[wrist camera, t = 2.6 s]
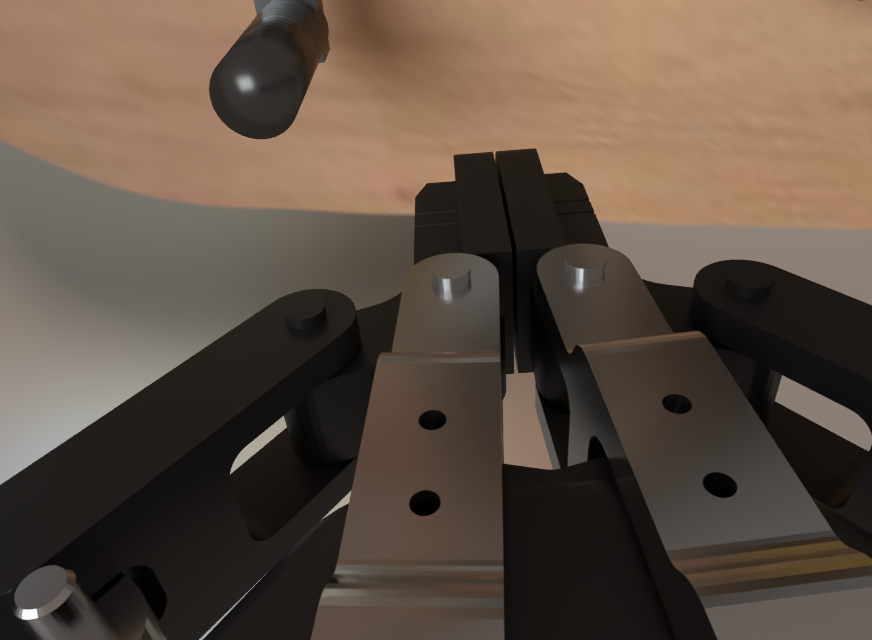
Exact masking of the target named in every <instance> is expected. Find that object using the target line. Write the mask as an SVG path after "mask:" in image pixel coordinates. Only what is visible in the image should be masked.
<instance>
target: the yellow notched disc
mask: <svg viewBox="0 0 872 640" xmlns="http://www.w3.org/2000/svg"><path fill="white" fill-rule="evenodd" d="M254 3H255V8H256V12H257V16H256V17H255V19H254V20H253V21H252V22H251V24H250V25H249V26H248V27H247V29H246V30H245V31H244V32H243V34H242V35H241V36H240V37H239V39H238V40H237V41H236V42H235V44H234V45H233V46H232V47H231V49H230V50H229V51H228V52H227V54H226V55H225V56H224V57H223V59H222V60H221V61H220V63H219V64H218V65H217V66H216V68H215V69H214V71H213V73H212V76H211V79H210V85H209V92H210V99H211V102H212V105H213V108H214V110H215V112H216V113H217V115H218V116H219V118H220V119H221V120H222V121H223V122H224V123H225V124H226V125H227V126H228V127H229V128H230V129H232V130H233V131H235V132H236V133H238V134H240V135H243V136H245V137H249V138H253V139H268V138H272V137H276V136H278V135H280V134H282V133H283V132H285V131H286V130H287V129H288V128H289V127H290V126H291V125H292V123H293V121H294V120H295V117H296V115H297V113H298V110H299V108H300V106H301V103H302V101H303V99H304V96H305V94H306V92H307V89H308V87H309V84H310V82H311V80H312V77H313V75H314V73H315V70H316V68H317V65H318V63H322V62H325V60H326V58H327V55H328V53H329V50H330V46H329V40H328V34H329V30H328V23H327V20H326V17H325V15H324V10H323V4H322V0H254Z"/></svg>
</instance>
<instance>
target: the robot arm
mask: <svg viewBox="0 0 872 640" xmlns="http://www.w3.org/2000/svg"><path fill="white" fill-rule="evenodd" d="M454 168H455V181H452V182H439V183H427V184H426V185H425V186H424V188H423V189H422V190H421V191H420V192H419V194H418V195H417V196H416V197H415V233H414V234H415V235H414V266H413V267H412V268H411V269H410V270H409V271H408V273H407V274H406V276H405V280H404V284H403V290H402V292H401V293H400V294H398V295H397V296H395V297H394V298H392V299H390V300H388V301H385V302H383V303H381V304H377V305H374V306H371V307H367V308H364V309H360V310H356V308H355V305H354V303H353V302H352V301H351V299H350V298H348V297H347V296H346V295H344V294H342V293H339V292H336V291H332V290H327V289H311V290H303V291H299V292H295V293H292V294H289V295H286V296H284V297H281V298H279V299H278V300H276V301H274V302H273V303H271V304H270V305H268V306H267V307H265V308H264V309H262V310H261V311H259V312H258V313H256V314H255V315H253V316H252V317H250V318H249V319H247V320H246V321H244V322H243V323H241V324H240V325H238V326H237V327H235V328H234V329H232V330H231V331H229V332H228V333H226V334H225V335H223V336H222V337H220V338H219V339H217V340H216V341H214V342H213V343H212V344H210V345H209V346H207V347H205V348H204V349H203V350H201V351H200V352H198V353H196V354H195V355H194V356H192V357H191V358H189V359H188V360H186V361H185V362H183V363H182V364H180V365H179V366H177V367H176V368H174V369H173V370H171V371H170V372H168V373H167V374H165V375H164V376H162V377H161V378H159V379H158V380H156V381H155V382H153V383H152V384H150V385H149V386H147V387H146V388H144V389H143V390H141V391H140V392H138V393H137V394H135V395H134V396H132V397H131V398H129V399H128V400H126V401H125V402H124V403H122V404H120V405H119V406H118V407H116V408H114V409H113V410H112V411H110V412H109V413H107V414H106V415H104V416H103V417H101V418H100V419H98V420H97V421H95V422H94V423H92V424H91V425H89V426H88V427H86V428H85V429H83V430H82V431H80V432H79V433H77V434H76V435H74V436H73V437H71V438H70V439H68V440H67V441H65V442H64V443H62V444H61V445H59V446H58V447H57V448H55V449H53V450H52V451H50V452H49V453H47V454H46V455H44V456H43V457H41V458H40V459H39V460H37V461H35V462H34V463H32V464H31V465H29V466H28V467H27V468H25V469H23V470H22V471H21V472H19V473H18V474H16V475H15V476H13V477H12V478H10V479H9V480H7V481H6V482H4V483H3V484H1V485H0V640H199V639H200V638H201V637H202V636H203V635H204V634H205V633H206V632H207V631H208V630H209V629H210V628H211V627H212V626H213V625H214V624H215V623H216V622H217V621H218V620H219V619H220V618H221V617H222V616H223V615H224V614H225V613H226V612H227V611H228V610H229V609H230V608H232V606H233V605H235V604H236V603H237V602H238V601H239V600H240V599H241V598H242V597H243V596H244V595H245V594H246V593H247V592H248V591H249V590H250V589H251V588H252V587H253V586H254V585H255V584H256V583H257V582H258V581H259V580H260V579H261V578H262V577H263V576H264V575H265V574H266V573H267V572H268V571H269V572H268V573H267V574H266V575H265V576H264V577H263V578H262V579H261V580H260V581H259V582H258V583H257V584H256V585H255V586H254V587H253V588H252V589H251V590H250V591H249V592H248V593H247V594H246V595H245V597H244V598H243V599H242V600H241V601H240V602H239V603H238V604H237V605H236V606H235V607H234V608H233V609H232V610H231V611H230V612H229V613H228V614H227V615H226V616H225V617H224V618H223V619H222V620H221V622H220V623H219V624H218V625H217V626H216V627H215V628H214V629H213V630H212V631H211V632H210V633H209V634H208V635H207V636H206V637H205V638H204V639H203V640H872V446H871V449H870V451H867V450H864V449H863V448H860V447H859V446H857V445H855V444H853V443H851V442H850V441H847V440H846V439H844V438H842V437H840V436H838V435H836V434H835V433H833V432H831V431H829V430H827V429H825V428H823V427H822V426H820V425H818V424H816V423H814V422H812V421H810V420H809V419H807V418H805V417H803V416H801V415H799V414H797V413H795V412H794V411H792V410H790V409H788V408H786V407H784V406H782V405H781V404H779V403H777V402H775V398H776V394H777V391H778V387H779V384H780V380H781V377H782V375H783V376H785V377H787V378H789V379H791V380H793V381H795V382H797V383H799V384H801V385H803V386H805V387H807V388H809V389H811V390H813V391H815V392H817V393H819V394H821V395H823V396H825V397H827V398H829V399H831V400H833V401H835V402H837V403H839V404H841V405H843V406H845V407H847V408H849V409H850V410H852V411H854V412H855V413H857V414H858V415H859V416H860V417H861V418H862V419H863V420H864V421H865V422H866V424H867V425H868V427H869V429H870V431H871V433H872V305H869V304H867V303H864V302H862V301H860V300H857V299H855V298H852V297H849V296H847V295H845V294H842V293H840V292H837V291H835V290H832V289H830V288H827V287H825V286H822V285H820V284H817V283H815V282H812V281H810V280H807V279H805V278H802V277H800V276H797V275H795V274H792V273H790V272H787V271H785V270H782V269H780V268H777V267H775V266H772V265H769V264H765V263H761V262H757V261H750V260H725V261H720V262H716V263H713V264H710V265H708V266H706V267H704V268H702V269H701V270H700V271H699V272H698V273H697V275H696V277H695V280H694V286H693V288H691V287H682V286H674V285H665V284H659V283H654V282H650V281H646V280H643V279H641V277H640V276H639V274H638V273H637V271H636V269H635V267H634V266H633V264H632V262H631V261H630V260H629V259H628V258H627V257H626V256H625V255H624V254H622V253H620V252H619V251H617V250H614V249H612V248H609V247H608V244H607V242H606V239H605V237H604V234H603V232H602V230H601V227H600V225H599V222H598V220H597V217H596V215H595V214H594V210H593V208H592V205H591V203H590V202H589V198H588V195H587V193H586V190H585V188H584V186H583V184H582V183H580V182H579V181H578V180H576V179H575V178H573V177H572V176H570V175H569V174H568V173H553V174H544V172H543V169H542V166H541V163H540V159H539V156H538V153H537V150H536V148H534V149H521V150H508V151H496V155H495V160H494V155H493V152H485V153H472V154H459V155H454ZM514 351H515V357H516V363H517V369H518V373H527V372H534V377H535V382H536V384H535V385H536V387H535V389H536V391H535V407H536V412H537V415H538V419H539V423H540V426H541V430H542V433H543V436H544V440H545V443H546V447H547V450H548V454H549V457H550V461H551V463H552V467H553V470H546V469H538V468H530V467H523V466H516V465H508V464H504V450H503V449H504V447H503V405H502V404H503V403H502V401H503V398H504V397H505V393H506V374H513V373H514ZM282 416H284V418H285V421H286V425H287V428H286V429H284V430H283V431H282V432H281V433H280V434H278V435H277V436H276V437H275V438H274V439H273V440H271V441H270V442H269V443H268V444H267V445H265V446H264V447H263V448H262V449H260V450H259V451H258V452H257V453H256V454H254V455H253V456H252V457H251V458H250V459H248V460H247V461H246V462H245V463H244V464H242V465H241V466H240V467H239V468H238V469H236V470H235V471H234V472H233V473H231V474H230V471H231V467H232V464H233V462H234V460H235V459H236V457H237V455H238V454H239V453H240V452H241V451H242V449H243V448H245V446H247V445H248V444H249V443H250V442H252V441H253V440H254V439H255V438H257V437H258V436H259V435H260V434H262V433H263V432H264V431H265V430H266V429H268V427H270V426H271V425H273V424H274V423H275V422H276V421H277V420H279V419H280V418H281V417H282ZM351 490H352V491H351ZM350 491H351V496H350V501H349V503H348V504H347V505H345V506H343V507H341V508H339V509H337V510H336V511H334V512H333V513H331V514H330V515H328V516H327V517H325V518H324V519H322V518H323V517H324V516H325V515H326V514H327V513H328V512H329V511H330V510H331V509H333V508H334V507H335V506H336V505H337V504H338V503H339V502H340V501H341V500H342V499H343V498H344V497H345V496H346V495H347V494H348V493H349V492H350ZM321 519H322V520H321ZM320 520H321V521H320ZM319 521H320V522H319ZM318 522H319V523H318Z"/></svg>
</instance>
